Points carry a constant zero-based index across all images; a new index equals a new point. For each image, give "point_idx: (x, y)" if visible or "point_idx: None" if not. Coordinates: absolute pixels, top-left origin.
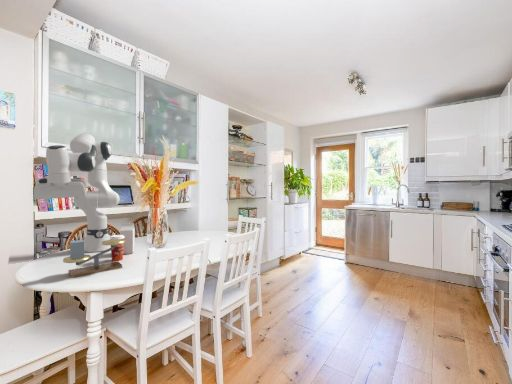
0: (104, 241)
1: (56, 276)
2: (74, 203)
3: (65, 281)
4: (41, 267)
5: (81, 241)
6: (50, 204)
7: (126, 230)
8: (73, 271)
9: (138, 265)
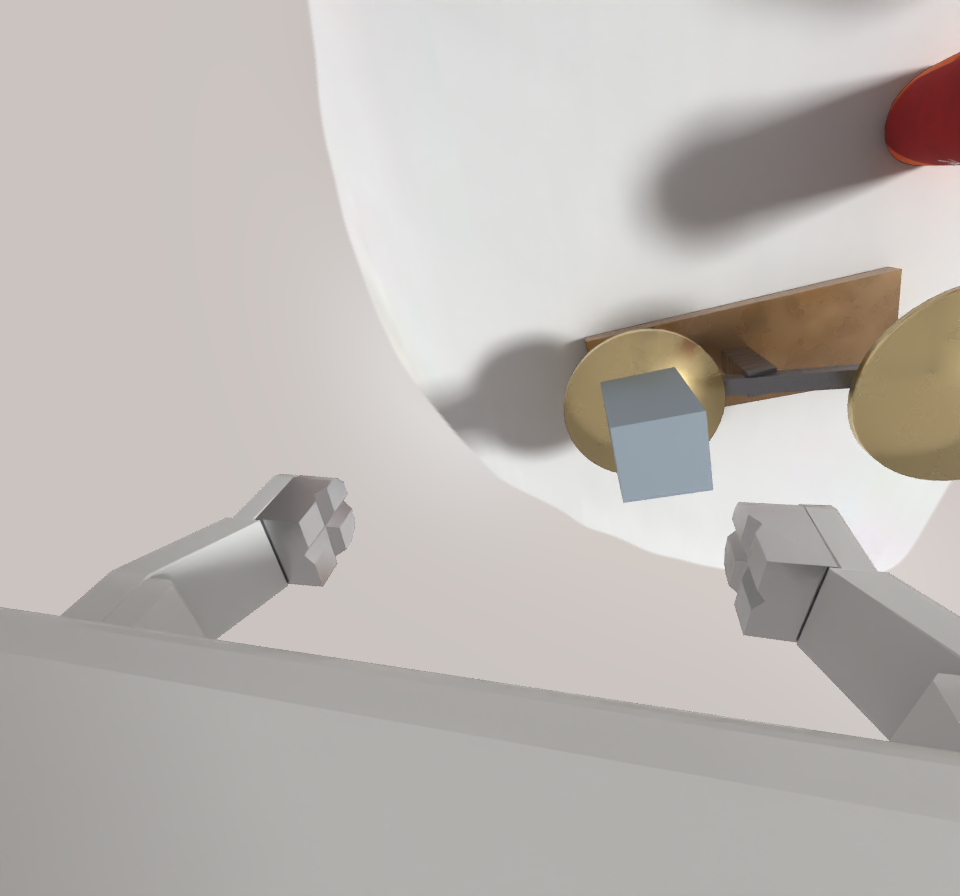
0: (894, 358)
1: (534, 368)
2: (799, 623)
3: (582, 462)
4: (413, 121)
5: (693, 474)
6: (306, 581)
7: None
8: None
9: None
